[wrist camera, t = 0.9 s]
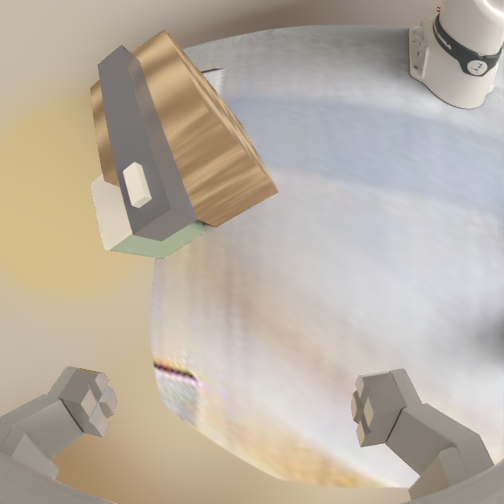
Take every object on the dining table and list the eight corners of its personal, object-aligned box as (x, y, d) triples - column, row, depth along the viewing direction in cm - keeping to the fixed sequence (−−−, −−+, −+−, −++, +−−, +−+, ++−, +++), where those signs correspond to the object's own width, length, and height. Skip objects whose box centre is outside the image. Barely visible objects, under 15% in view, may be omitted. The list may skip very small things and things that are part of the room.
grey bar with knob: (116, 78, 28) (93, 61, 24) (139, 60, 27) (117, 41, 23) (161, 241, 22) (125, 233, 18) (197, 219, 22) (164, 205, 18)
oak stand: (186, 155, 54) (90, 87, 29) (240, 122, 51) (164, 29, 26) (216, 227, 50) (104, 181, 26) (278, 192, 47) (204, 106, 23)
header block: (144, 204, 56) (90, 183, 42) (184, 177, 53) (133, 146, 39) (162, 258, 53) (104, 249, 39) (206, 232, 51) (153, 214, 36)
